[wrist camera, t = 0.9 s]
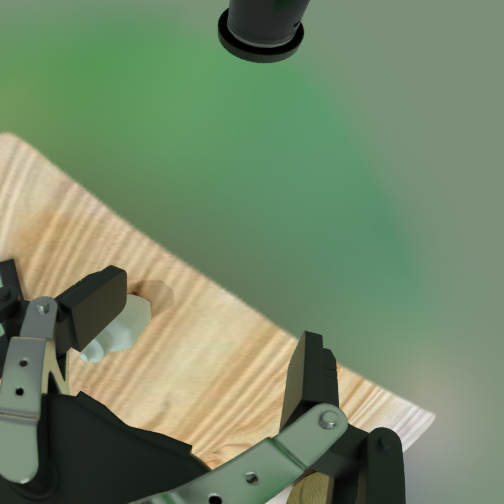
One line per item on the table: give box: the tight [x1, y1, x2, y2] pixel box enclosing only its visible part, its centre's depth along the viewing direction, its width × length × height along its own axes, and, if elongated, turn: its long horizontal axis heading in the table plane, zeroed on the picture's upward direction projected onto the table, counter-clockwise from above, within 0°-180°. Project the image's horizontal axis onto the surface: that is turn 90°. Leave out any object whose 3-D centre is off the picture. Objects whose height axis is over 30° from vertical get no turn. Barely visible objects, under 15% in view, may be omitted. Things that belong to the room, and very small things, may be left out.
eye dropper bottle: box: [80, 294, 152, 363], centre depth 22 cm, size 4×6×12 cm
